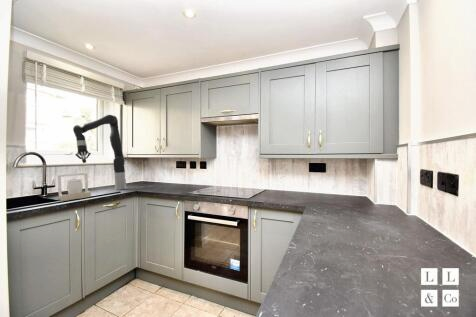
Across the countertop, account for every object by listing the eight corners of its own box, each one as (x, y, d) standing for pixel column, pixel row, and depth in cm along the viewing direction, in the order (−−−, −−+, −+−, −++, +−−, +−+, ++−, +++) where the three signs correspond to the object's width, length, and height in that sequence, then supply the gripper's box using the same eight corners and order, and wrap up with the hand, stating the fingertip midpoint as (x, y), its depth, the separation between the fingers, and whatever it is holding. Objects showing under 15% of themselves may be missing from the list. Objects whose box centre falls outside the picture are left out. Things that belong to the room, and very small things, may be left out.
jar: (64, 198, 176) (63, 180, 175) (76, 195, 186) (75, 178, 185) (74, 198, 173) (73, 180, 173) (86, 196, 183) (85, 178, 183)
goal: (58, 198, 176) (57, 174, 176) (88, 194, 190) (86, 172, 190) (60, 200, 166) (58, 175, 166) (91, 196, 180) (90, 173, 180)
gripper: (73, 145, 201) (76, 163, 201) (90, 144, 211) (93, 161, 210) (72, 146, 207) (75, 164, 206) (89, 146, 216) (91, 162, 215)
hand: (84, 162), depth 208 cm, fingers closed
